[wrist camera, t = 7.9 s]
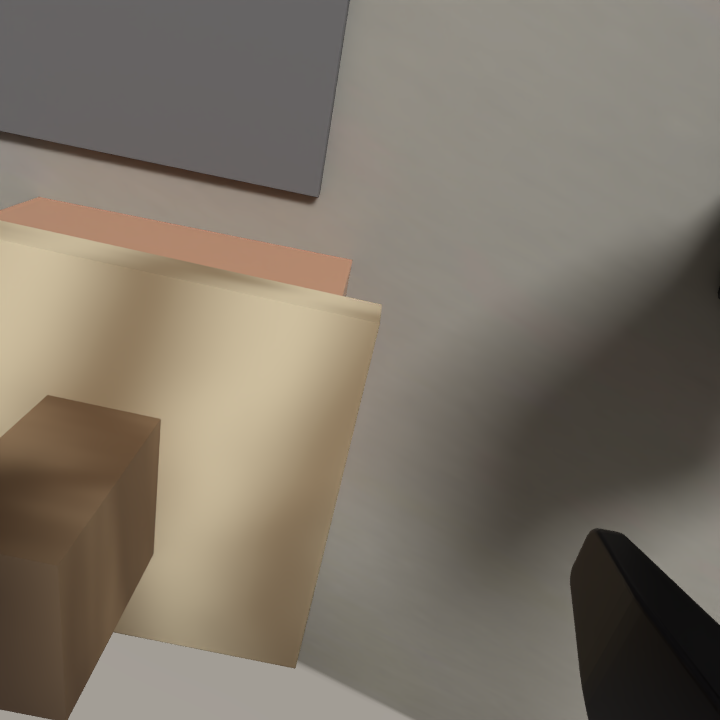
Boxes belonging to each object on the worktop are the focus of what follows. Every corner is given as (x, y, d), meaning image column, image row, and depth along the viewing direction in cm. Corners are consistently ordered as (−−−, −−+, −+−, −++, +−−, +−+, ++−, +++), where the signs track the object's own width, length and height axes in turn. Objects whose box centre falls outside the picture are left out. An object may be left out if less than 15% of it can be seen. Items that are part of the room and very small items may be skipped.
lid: (381, 304, 14) (367, 450, 9) (300, 636, 20) (262, 848, 15) (-136, 190, 14) (-488, 267, 8) (-64, 563, 20) (-244, 752, 14)
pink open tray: (352, 257, 20) (334, 325, 15) (308, 495, 25) (282, 610, 20) (43, 195, 20) (-90, 240, 14) (61, 448, 25) (-33, 551, 19)
